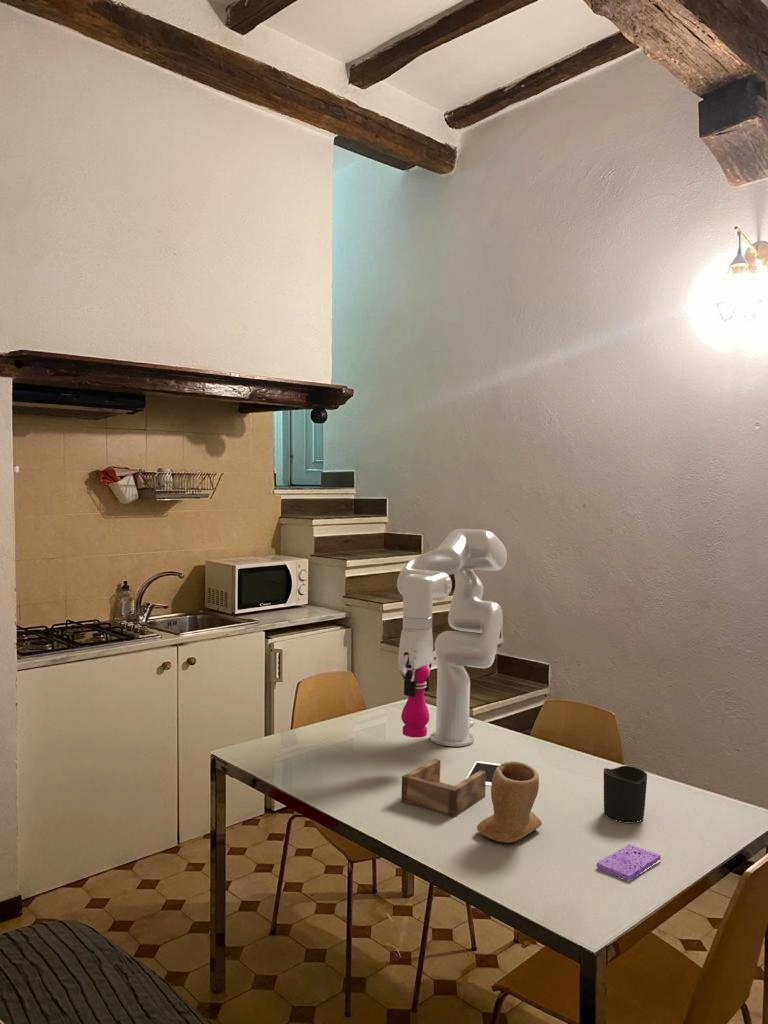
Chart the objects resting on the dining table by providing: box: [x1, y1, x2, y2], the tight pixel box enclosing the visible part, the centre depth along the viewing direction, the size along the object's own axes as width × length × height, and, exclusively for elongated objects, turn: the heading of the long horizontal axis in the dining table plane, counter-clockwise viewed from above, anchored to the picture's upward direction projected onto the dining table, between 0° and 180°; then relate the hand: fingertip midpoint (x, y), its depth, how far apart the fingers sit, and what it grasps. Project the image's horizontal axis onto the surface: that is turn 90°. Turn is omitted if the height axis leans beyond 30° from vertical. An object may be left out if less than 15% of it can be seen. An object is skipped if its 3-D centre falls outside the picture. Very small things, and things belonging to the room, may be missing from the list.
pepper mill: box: [400, 665, 430, 739], centre depth 203 cm, size 7×7×20 cm
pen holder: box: [603, 765, 648, 823], centre depth 179 cm, size 9×9×10 cm
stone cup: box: [476, 761, 543, 844], centre depth 168 cm, size 15×12×15 cm
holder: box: [400, 758, 486, 818], centre depth 186 cm, size 15×14×6 cm
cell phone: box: [465, 760, 502, 787], centre depth 204 cm, size 8×16×1 cm, turn 163°
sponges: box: [596, 843, 662, 882], centre depth 156 cm, size 7×13×2 cm, turn 134°
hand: (416, 692), depth 203 cm, fingers closed on pepper mill, 5 cm apart
